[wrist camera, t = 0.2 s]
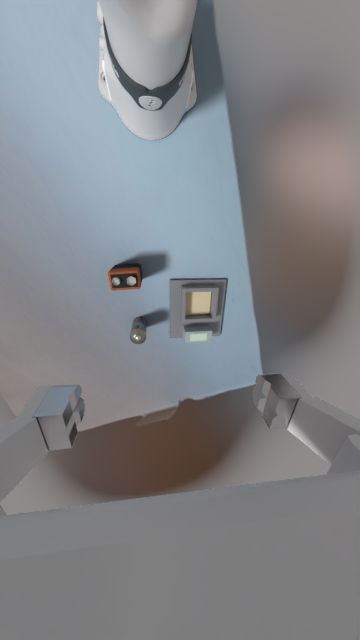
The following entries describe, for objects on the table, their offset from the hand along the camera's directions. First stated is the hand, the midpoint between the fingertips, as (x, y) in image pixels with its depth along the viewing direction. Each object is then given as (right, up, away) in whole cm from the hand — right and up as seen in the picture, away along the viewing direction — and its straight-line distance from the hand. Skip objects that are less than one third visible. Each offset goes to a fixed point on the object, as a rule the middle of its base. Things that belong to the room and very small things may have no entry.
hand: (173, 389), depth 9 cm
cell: (-12, +2, +50) cm, 52 cm away
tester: (+5, +7, +51) cm, 52 cm away
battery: (-13, +16, +44) cm, 49 cm away
